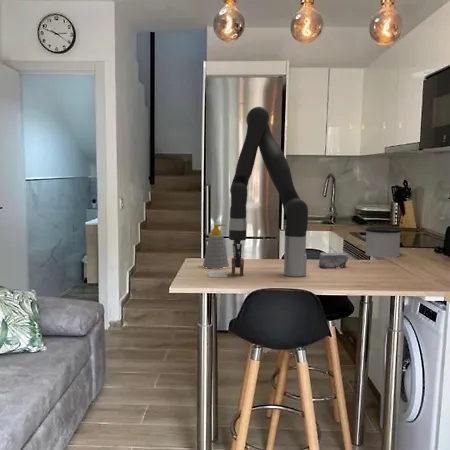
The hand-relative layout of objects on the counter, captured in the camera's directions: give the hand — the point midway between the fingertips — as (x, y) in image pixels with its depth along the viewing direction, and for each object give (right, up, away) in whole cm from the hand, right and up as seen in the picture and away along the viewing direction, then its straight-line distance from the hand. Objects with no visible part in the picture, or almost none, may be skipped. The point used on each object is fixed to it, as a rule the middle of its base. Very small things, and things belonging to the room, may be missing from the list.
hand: (236, 265), depth 207 cm
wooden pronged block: (0, -4, 0) cm, 4 cm away
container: (+84, +1, +63) cm, 105 cm away
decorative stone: (+46, -3, +23) cm, 51 cm away
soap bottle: (-10, -2, +20) cm, 22 cm away
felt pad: (-8, -4, 0) cm, 9 cm away
